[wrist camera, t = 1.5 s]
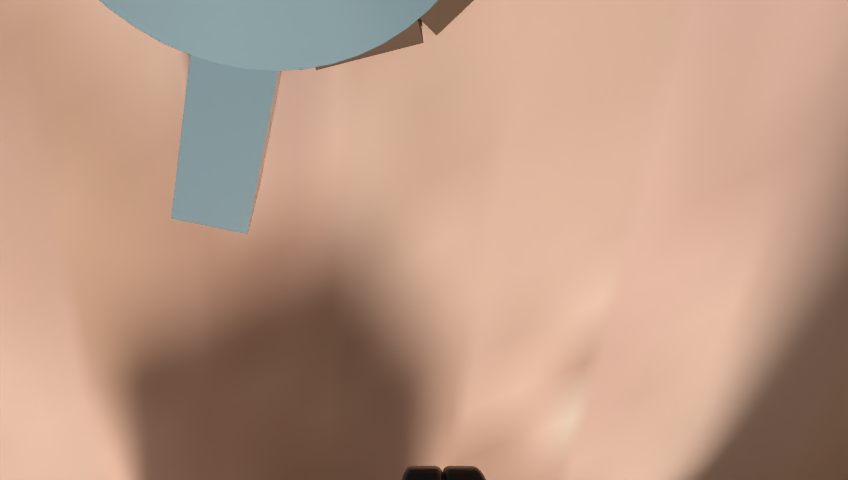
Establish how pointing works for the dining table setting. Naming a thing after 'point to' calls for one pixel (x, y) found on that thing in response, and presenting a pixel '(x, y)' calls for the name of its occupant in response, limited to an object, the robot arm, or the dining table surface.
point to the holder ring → (417, 28)
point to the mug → (249, 81)
